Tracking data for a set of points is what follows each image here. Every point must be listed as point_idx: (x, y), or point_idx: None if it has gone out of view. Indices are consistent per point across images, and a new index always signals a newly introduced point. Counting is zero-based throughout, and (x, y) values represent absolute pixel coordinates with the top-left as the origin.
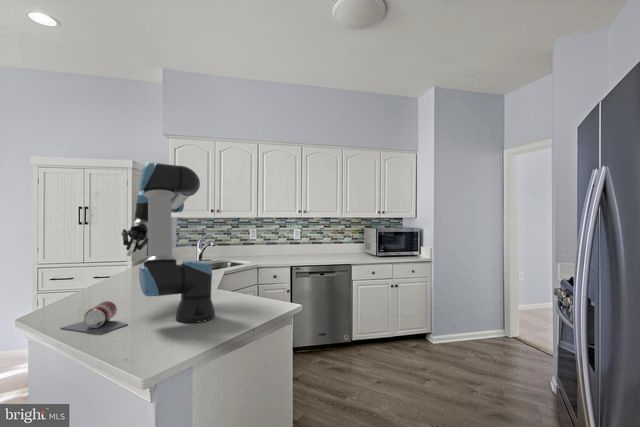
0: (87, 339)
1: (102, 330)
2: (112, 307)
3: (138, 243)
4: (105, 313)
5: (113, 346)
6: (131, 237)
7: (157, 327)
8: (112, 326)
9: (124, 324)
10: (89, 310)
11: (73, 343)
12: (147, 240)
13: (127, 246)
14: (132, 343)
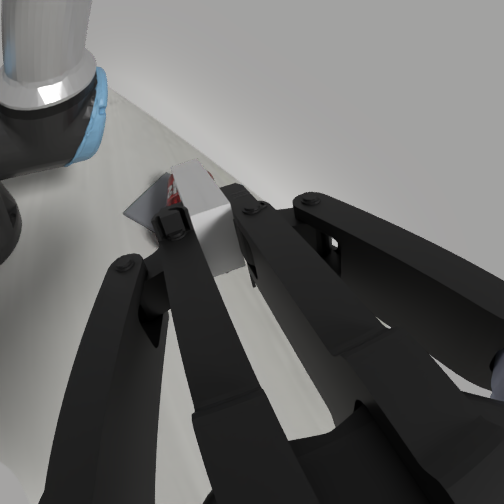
0: (178, 160)
1: (166, 185)
2: None
3: (165, 258)
4: (171, 174)
5: (131, 131)
6: (338, 279)
7: (64, 188)
8: (154, 203)
9: (131, 210)
10: (207, 171)
11: (192, 152)
12: (56, 461)
13: (242, 186)
14: (106, 134)
